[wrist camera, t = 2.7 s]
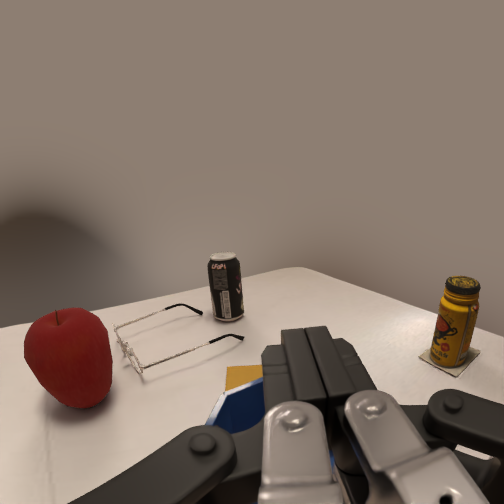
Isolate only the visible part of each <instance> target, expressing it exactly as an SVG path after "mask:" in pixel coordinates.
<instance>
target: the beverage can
mask: <svg viewBox="0 0 504 504" xmlns="http://www.w3.org/2000/svg"><path fill="white" fill-rule="evenodd" d="M235 256H236V255H235V253H232V252H221V253H216V254H213V255H211V256H210V261H209V263H208V275H209V283H210V292H211V300H212V308H213V315H214V317H215V318H217V319H219V320H221V321H234V320H236V319H238V318H239V317H241V316H242V315H243V314H244V307H243V295H242V284H241V273H240V263H239V261H238V260H237V258H236V257H235Z"/></svg>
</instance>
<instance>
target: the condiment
mask: <svg viewBox="0 0 504 504" xmlns="http://www.w3.org/2000/svg"><path fill="white" fill-rule="evenodd" d="M445 284H446V285H445V289H444V296H443V297H442V298H441V301H440V305H439V306H440V307H439V311H438V317H437V322H436V327H435V332H434V336H433V341H432V346H431V348H430V349H429V350H427V351H426V352H424V353H423V354H422V355H420V356H418V357H420V358H422V359H424V360H425V361H427V362H429V363H430V364H432V365H434V366H436V367H438V368H440V369H442V370H444V371H446V372H449V373H451V374H452V375H454V376H457V375H458V374H460V373H461V372H462V371H463V369H465V368H466V367H467V366H468V365H469V363H470V362H471V361H472V360H473V359H474V358H475V357H476V356H477V355H478V353H479V352H480V350H477V349H474V348H471V347H469V346H470V342H471V339H472V335H473V331H474V327H475V323H476V319H477V314H478V310H479V302H478V298H479V291H480V284H479V282H477V280H475V279H472V278H469V277H465V276H452V277H449V278H448V279H447V280H446V283H445Z"/></svg>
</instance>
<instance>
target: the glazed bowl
mask: <svg viewBox="0 0 504 504" xmlns="http://www.w3.org/2000/svg"><path fill="white" fill-rule="evenodd" d="M264 414H265V403H264V390H263V377H260V378H258V379H256V380H253V381H251V382H248V383H246V384H244V385H241V386H239V387H236V388H233V389H231V390H228V391H226V392H223V394H221V395H220V397H219V399H218V401H217V403H216V405H215V406H214V408H213V410H212V412H211V414H210V416H209V418H208V420H207V422H206V424H205V425H212V426H217V427H220V428H222V429H224V430H226V431H227V432H229V433H230V434H234V433H238V432H241V431H245V430H247V429H250V428H252V427H253V426H255V425H256V424H257V423H259V422H260V421H261V419H262V418H263V416H264ZM329 455H330V462H331V468H332V474H333V479H334V481H336V478H335V475H334V473H333V463H334V455H333V451H332V450H329ZM252 504H258V502H255V503H252Z"/></svg>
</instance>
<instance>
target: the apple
mask: <svg viewBox="0 0 504 504" xmlns="http://www.w3.org/2000/svg"><path fill="white" fill-rule="evenodd" d="M24 358H25V360H26V362H27V364H28V365H29V367H30V369H31V370H32V372H33V373H34V375H35V376H36V378H37V379H38V381H39V382H40V384H41V385H42V386H43V387H44V388H45V389H46V390H47V391H48V392H49V393H50V394H51V395H52V396H54V397H55V398H56V399H57V400H58V401H59V402H61V403H63V404H64V405H66V406H70V407H76V408H90V407H93V406H95V405H97V404H98V403H99V402H101V401H102V400H103V398H104V397H105V396H106V395H107V393H108V392H109V391H110V387H111V384H112V364H113V360H112V355H111V349H110V344H109V337H108V331H107V329H106V328H105V326H104V325H103V323H102V322H101V320H100V319H99V317H97V316H96V315H94V314H93V313H91V312H89V311H86V310H84V309H82V308H68V309H63V310H58V311H56V310H55V311H54V312H52V313H50V314H47V315H45V316H43V317H41V318H39V319H38V320H36V321H35V322H34V323H33V324H32V325H31V327H30V328H29V330H28V332H27V334H26V337H25V341H24Z"/></svg>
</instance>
